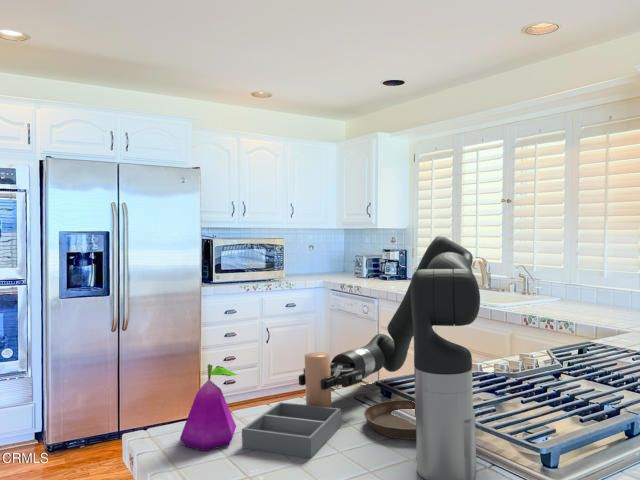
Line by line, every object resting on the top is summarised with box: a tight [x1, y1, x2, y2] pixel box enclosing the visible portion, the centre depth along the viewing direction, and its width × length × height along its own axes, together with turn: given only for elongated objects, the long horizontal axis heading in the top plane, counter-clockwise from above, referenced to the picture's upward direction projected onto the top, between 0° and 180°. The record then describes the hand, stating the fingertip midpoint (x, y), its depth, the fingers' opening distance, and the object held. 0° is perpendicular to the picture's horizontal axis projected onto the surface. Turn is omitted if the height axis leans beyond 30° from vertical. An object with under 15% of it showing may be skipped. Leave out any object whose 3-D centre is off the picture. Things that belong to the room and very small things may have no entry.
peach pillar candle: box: [304, 351, 333, 408], centre depth 111 cm, size 6×6×13 cm
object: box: [363, 399, 416, 440], centre depth 103 cm, size 18×18×3 cm
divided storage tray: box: [241, 401, 342, 459], centre depth 99 cm, size 14×16×4 cm
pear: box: [179, 363, 238, 452], centre depth 98 cm, size 11×11×15 cm
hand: (311, 382), depth 109 cm, fingers closed on peach pillar candle, 5 cm apart
